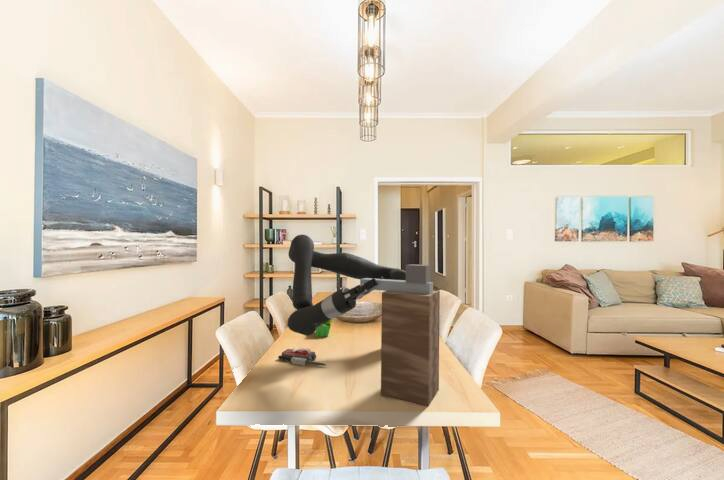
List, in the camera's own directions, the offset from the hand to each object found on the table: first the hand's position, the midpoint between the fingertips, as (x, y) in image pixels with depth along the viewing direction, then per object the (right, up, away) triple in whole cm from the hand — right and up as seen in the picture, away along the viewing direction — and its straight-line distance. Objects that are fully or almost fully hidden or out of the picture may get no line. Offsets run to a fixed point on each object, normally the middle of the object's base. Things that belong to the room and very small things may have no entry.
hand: (379, 280), depth 106 cm
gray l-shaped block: (+5, -3, -2) cm, 6 cm away
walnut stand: (+9, -33, -5) cm, 34 cm away
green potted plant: (-24, -33, +58) cm, 71 cm away
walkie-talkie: (-27, -33, +21) cm, 48 cm away
